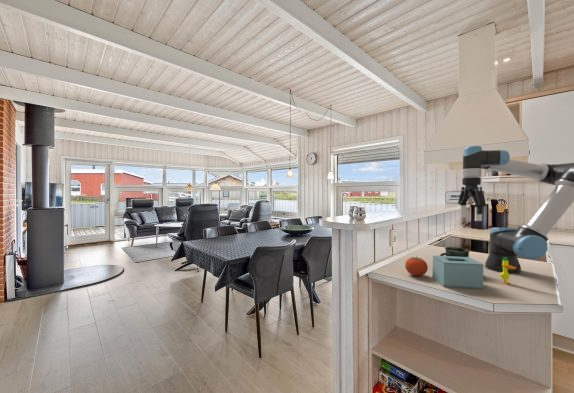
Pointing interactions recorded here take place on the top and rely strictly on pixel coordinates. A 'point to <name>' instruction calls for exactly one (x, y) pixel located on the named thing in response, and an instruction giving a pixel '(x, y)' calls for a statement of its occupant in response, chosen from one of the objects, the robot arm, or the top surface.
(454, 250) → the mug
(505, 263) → the toy figure
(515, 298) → the top surface
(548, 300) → the top surface
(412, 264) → the tomato
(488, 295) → the top surface
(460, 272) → the coin box
